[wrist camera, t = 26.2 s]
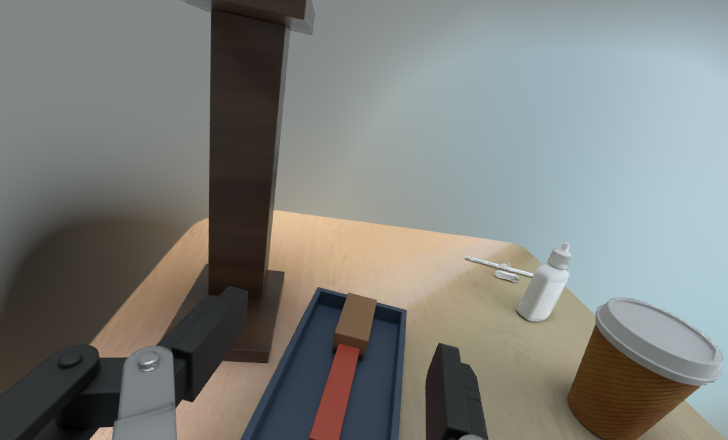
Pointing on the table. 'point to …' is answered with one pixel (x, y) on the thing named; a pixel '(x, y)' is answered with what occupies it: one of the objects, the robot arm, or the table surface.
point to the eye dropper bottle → (546, 285)
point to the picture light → (500, 273)
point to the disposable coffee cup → (639, 369)
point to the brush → (343, 365)
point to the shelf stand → (246, 158)
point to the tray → (311, 370)
